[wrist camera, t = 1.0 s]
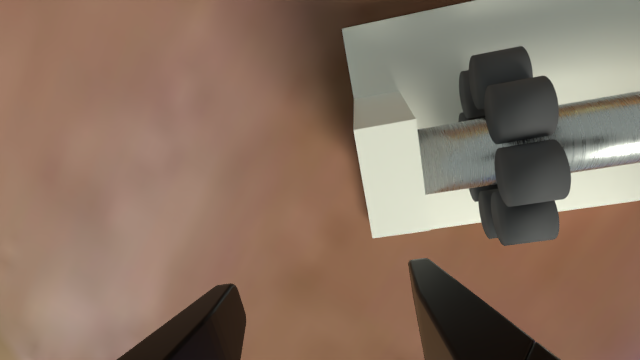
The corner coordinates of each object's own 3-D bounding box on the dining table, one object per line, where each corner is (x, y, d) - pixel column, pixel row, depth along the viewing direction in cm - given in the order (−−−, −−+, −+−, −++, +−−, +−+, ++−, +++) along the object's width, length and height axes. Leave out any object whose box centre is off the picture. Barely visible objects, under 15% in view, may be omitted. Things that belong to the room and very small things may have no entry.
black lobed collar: (489, 41, 17) (572, 54, 10) (498, 194, 19) (570, 282, 13) (451, 48, 17) (508, 66, 11) (464, 199, 19) (518, 288, 13)
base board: (868, -84, 16) (1193, -148, 10) (814, 165, 19) (1028, 234, 13) (342, 28, 18) (336, 33, 12) (376, 227, 22) (384, 307, 16)
